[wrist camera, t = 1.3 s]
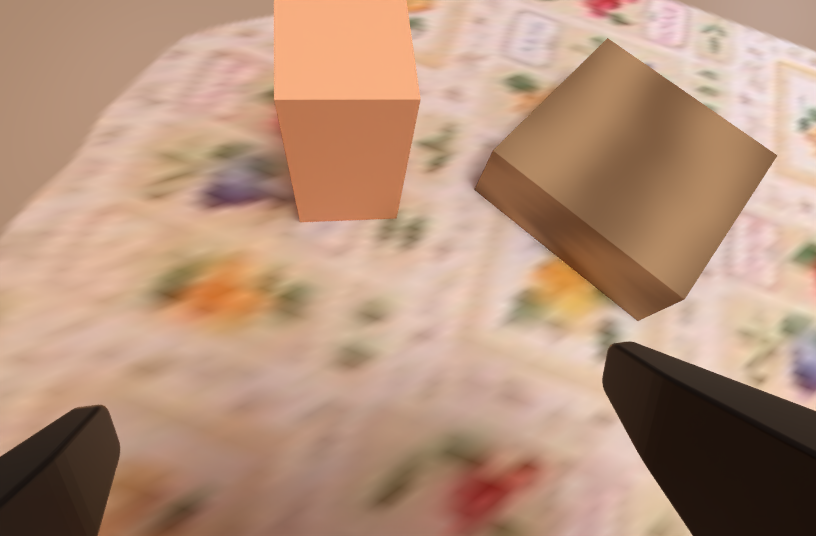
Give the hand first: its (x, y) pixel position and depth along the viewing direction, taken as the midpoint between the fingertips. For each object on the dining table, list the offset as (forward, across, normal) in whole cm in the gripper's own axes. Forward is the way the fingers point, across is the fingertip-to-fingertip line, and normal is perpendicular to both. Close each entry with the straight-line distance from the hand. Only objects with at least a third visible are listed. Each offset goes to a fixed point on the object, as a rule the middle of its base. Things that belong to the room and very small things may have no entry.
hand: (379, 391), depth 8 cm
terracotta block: (+18, 0, 0) cm, 19 cm away
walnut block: (+18, -15, +2) cm, 23 cm away
